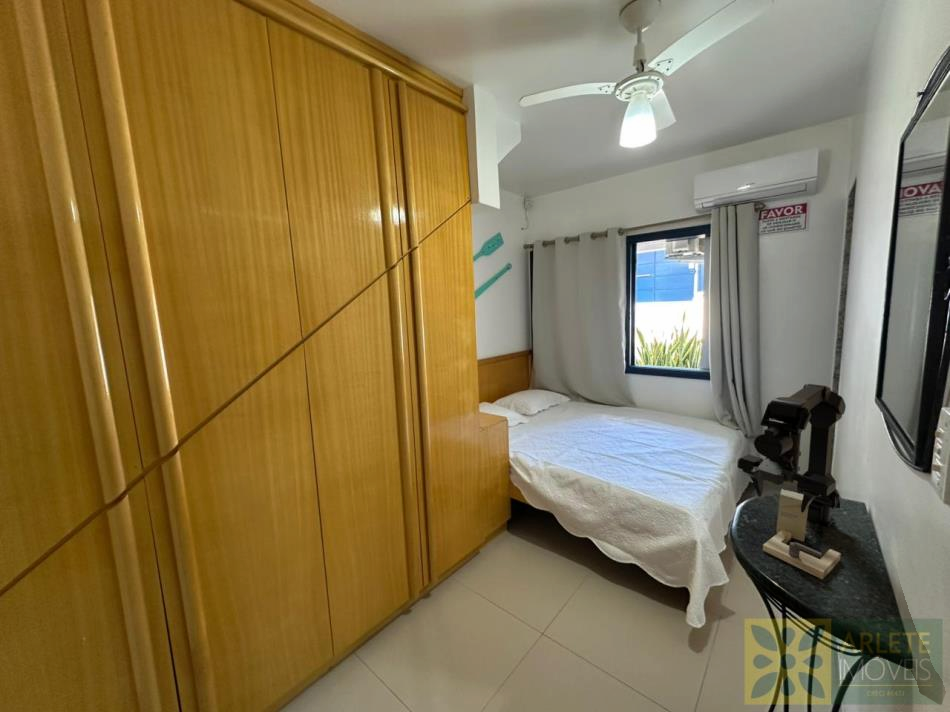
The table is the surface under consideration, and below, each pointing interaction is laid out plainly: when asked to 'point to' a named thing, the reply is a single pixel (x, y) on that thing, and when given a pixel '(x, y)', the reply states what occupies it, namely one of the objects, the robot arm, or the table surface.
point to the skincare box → (792, 514)
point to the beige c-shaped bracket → (801, 555)
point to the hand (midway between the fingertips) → (780, 503)
